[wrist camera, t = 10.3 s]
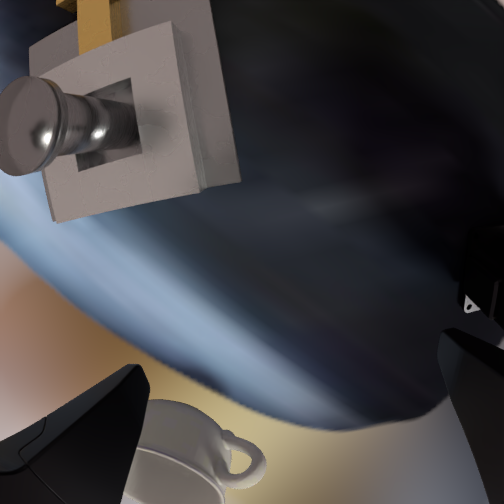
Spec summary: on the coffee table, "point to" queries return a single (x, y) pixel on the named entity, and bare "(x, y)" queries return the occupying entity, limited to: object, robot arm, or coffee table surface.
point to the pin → (57, 125)
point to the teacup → (187, 458)
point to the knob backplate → (141, 103)
